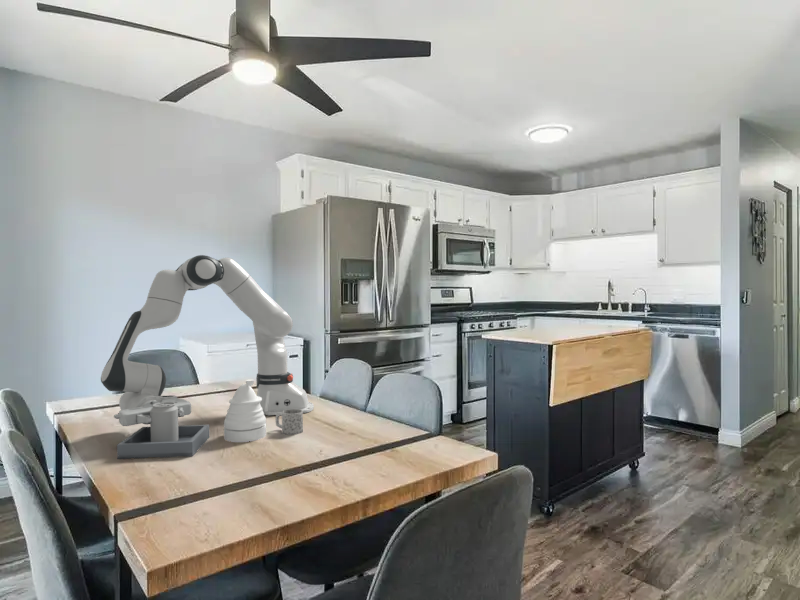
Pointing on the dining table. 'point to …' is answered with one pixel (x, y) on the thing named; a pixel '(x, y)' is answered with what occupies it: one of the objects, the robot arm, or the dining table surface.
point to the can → (164, 422)
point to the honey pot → (245, 416)
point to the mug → (290, 421)
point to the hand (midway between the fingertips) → (165, 417)
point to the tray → (163, 443)
